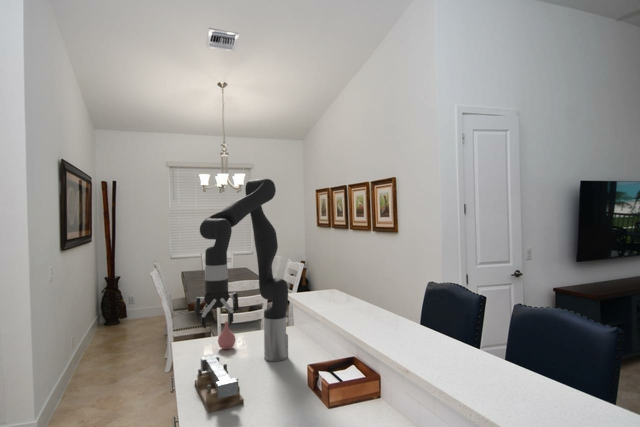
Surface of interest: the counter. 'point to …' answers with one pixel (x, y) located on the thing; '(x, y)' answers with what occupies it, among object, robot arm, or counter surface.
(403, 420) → the counter surface
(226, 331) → the pink teardrop shape
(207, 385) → the rack
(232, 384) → the grey flared end bar
